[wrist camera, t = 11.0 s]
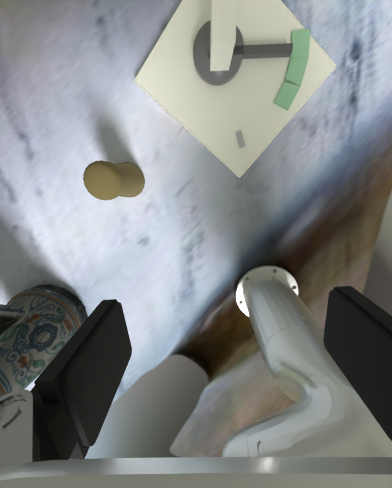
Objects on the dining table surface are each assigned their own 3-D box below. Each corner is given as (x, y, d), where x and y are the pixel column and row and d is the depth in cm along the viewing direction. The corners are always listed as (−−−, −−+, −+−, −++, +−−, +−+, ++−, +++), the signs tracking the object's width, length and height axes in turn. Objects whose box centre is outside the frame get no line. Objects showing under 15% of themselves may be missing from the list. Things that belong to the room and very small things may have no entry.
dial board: (331, 70, 31) (339, 63, 29) (238, 178, 36) (240, 178, 34) (222, -56, 27) (224, -74, 25) (137, 84, 32) (132, 78, 30)
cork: (123, 154, 35) (89, 145, 25) (151, 177, 36) (129, 177, 26) (105, 182, 37) (66, 184, 27) (133, 203, 38) (105, 213, 28)
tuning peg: (194, 86, 30) (188, 42, 21) (193, 26, 28) (187, -55, 18) (285, 83, 30) (325, 36, 20) (291, 21, 28) (340, -65, 18)
